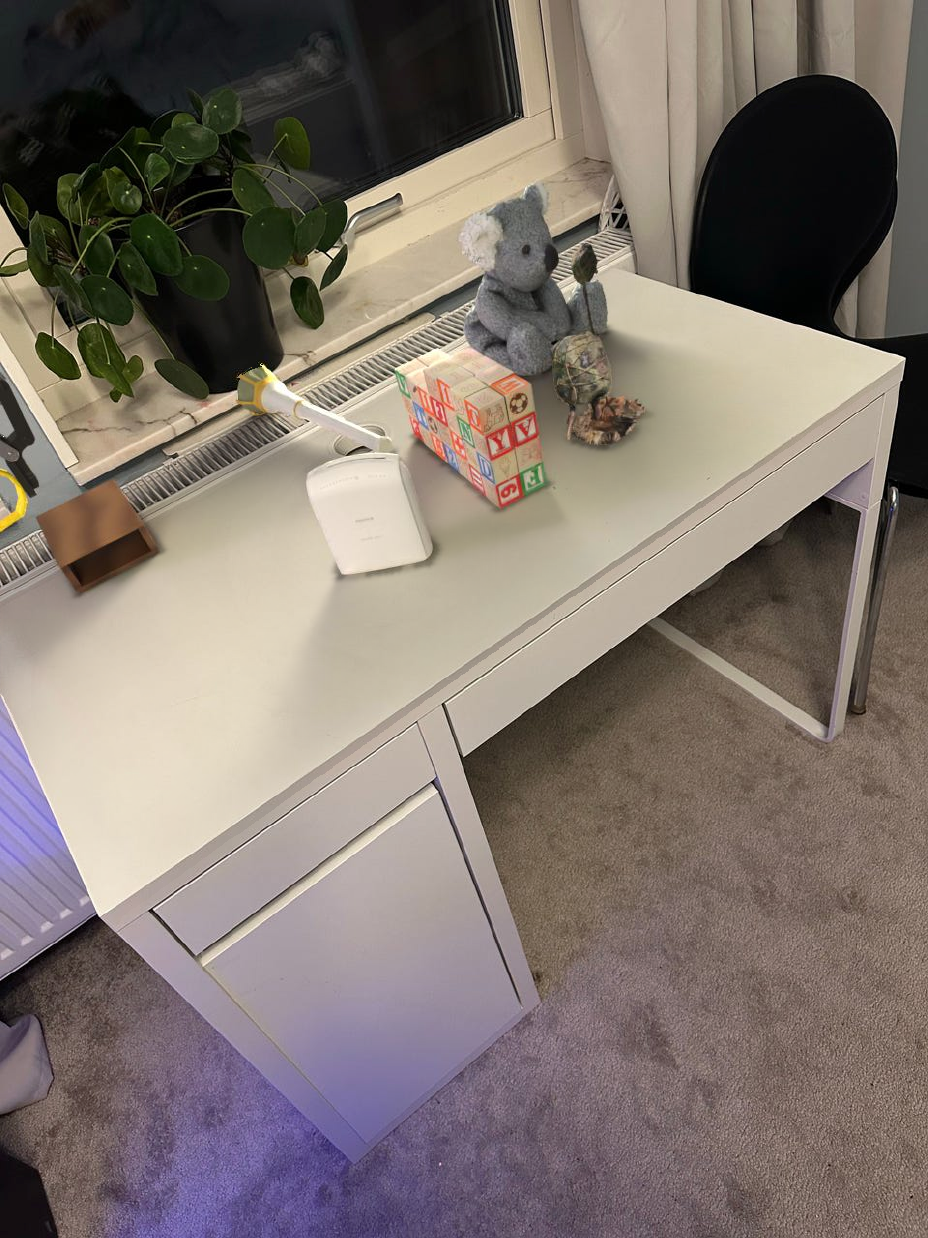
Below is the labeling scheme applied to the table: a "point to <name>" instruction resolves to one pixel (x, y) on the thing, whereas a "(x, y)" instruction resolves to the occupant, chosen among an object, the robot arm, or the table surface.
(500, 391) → the stack of blocks
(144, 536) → the shelf
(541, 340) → the koala plush
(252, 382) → the light stick
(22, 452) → the robot arm
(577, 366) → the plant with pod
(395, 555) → the photo printer
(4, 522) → the watch
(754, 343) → the table surface
